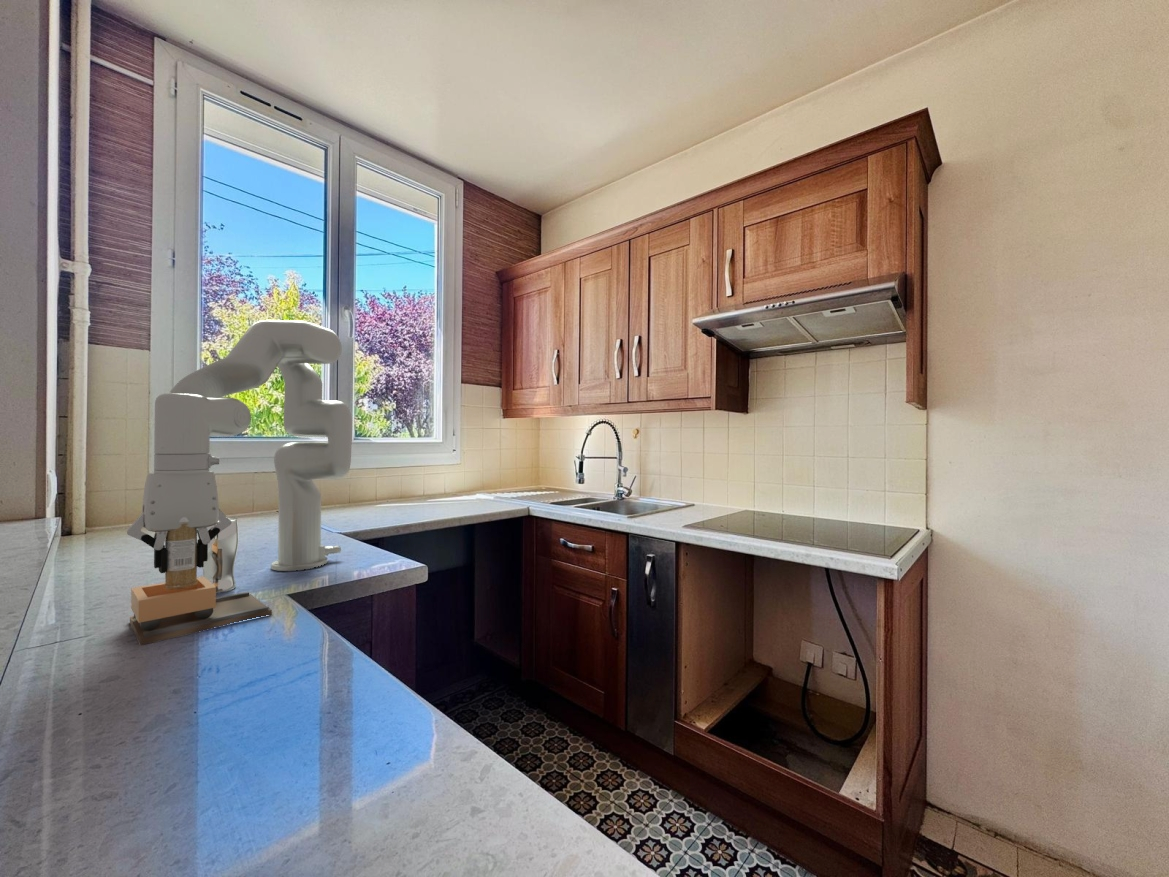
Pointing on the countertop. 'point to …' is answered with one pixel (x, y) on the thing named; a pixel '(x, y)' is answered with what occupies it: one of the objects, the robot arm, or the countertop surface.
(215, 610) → the track board
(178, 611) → the cart
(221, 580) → the beer glass
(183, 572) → the sprinkles bottle
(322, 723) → the countertop surface
